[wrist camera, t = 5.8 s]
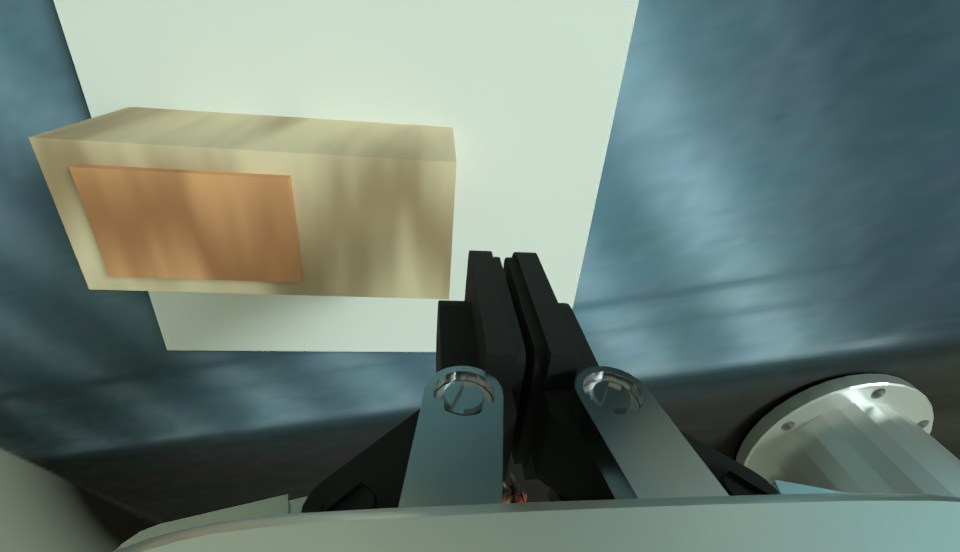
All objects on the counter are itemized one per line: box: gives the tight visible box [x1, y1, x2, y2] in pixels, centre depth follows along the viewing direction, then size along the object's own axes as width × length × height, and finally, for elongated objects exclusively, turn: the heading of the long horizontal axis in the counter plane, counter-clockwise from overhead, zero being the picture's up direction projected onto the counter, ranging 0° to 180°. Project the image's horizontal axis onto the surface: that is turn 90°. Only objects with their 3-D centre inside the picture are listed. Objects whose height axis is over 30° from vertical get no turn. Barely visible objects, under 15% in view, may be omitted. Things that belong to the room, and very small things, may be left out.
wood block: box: [29, 107, 457, 299], centre depth 17 cm, size 5×5×12 cm
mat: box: [53, 0, 639, 352], centre depth 19 cm, size 18×20×1 cm
